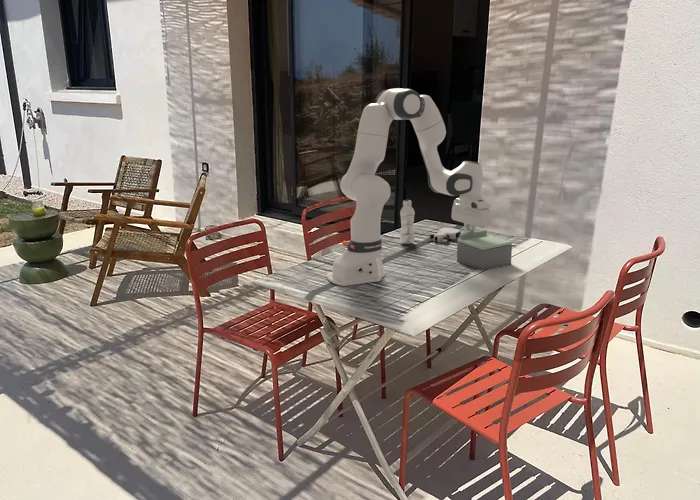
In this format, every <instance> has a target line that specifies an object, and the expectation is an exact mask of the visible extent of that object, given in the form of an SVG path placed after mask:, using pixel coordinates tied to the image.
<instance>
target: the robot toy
mask: <svg viewBox="0 0 700 500" xmlns="http://www.w3.org/2000/svg"><path fill="white" fill-rule="evenodd" d="M463 233H466V230H465V231H464V230H463V232H461V230H460V229H457V228H453V227H444V226H443V227H442V228H441V229H439V230H438V231H437V232H436V233H435V234H434V233H433V234H429V235H427V236H426V239H428V240H429V239H430V240H433V241H434V242H437V243H441V242H442V243H447V242H448V241H449V240H453V241H456V240H457V239H459V237H460V234H463Z"/></svg>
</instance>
